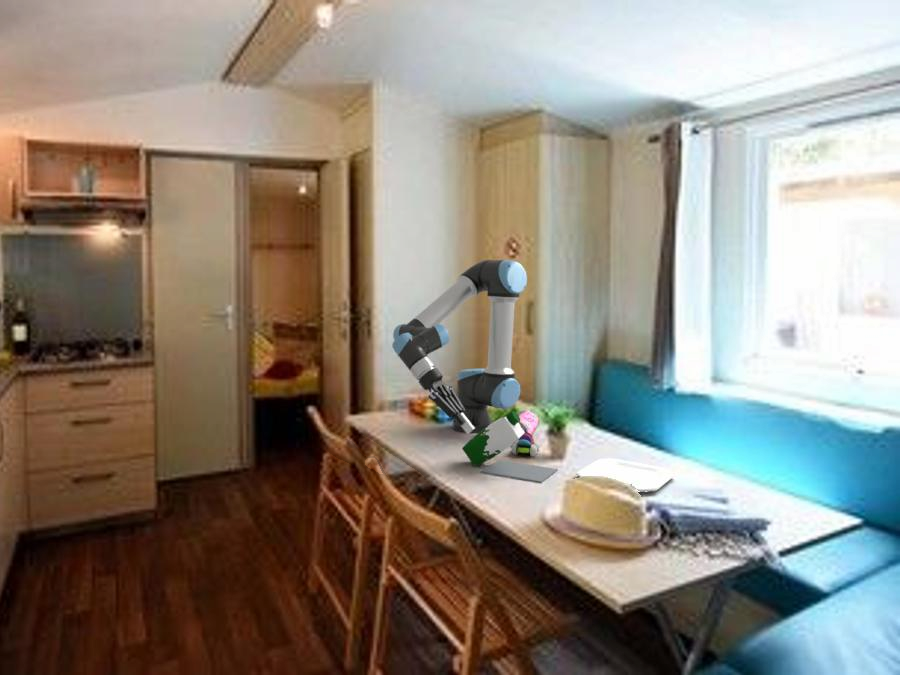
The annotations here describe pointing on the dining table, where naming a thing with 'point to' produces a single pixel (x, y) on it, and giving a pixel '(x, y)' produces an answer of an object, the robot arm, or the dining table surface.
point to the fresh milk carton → (494, 439)
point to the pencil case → (528, 421)
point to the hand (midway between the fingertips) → (471, 431)
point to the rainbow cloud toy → (525, 445)
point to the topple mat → (519, 471)
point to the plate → (629, 473)
